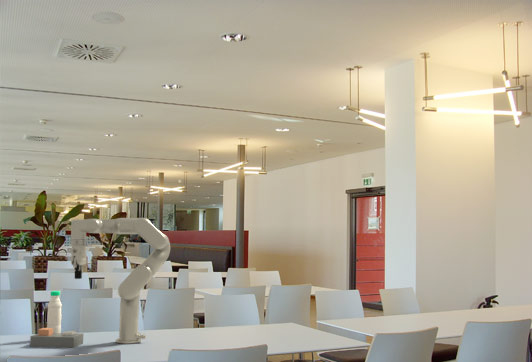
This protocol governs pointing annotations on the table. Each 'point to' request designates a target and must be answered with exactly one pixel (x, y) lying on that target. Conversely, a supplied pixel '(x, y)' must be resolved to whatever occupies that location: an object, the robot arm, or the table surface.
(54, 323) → the water bottle
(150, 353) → the table surface
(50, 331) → the terracotta button
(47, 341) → the block
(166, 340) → the table surface
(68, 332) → the grey button
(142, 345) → the table surface
